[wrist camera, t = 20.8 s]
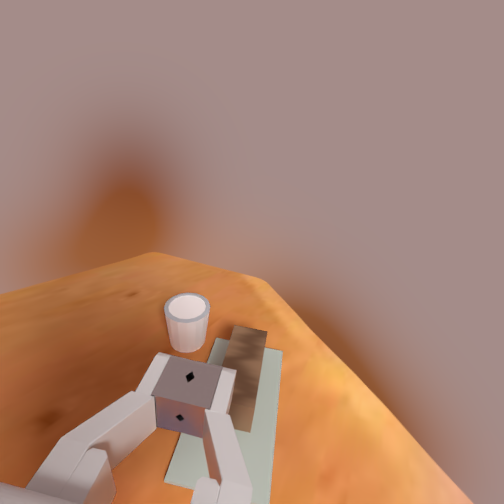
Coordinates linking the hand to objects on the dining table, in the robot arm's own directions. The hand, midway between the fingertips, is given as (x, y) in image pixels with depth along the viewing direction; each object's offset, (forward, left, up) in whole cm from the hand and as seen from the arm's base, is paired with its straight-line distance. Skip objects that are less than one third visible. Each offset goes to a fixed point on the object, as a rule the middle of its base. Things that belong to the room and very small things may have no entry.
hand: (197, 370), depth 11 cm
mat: (0, +16, -27) cm, 31 cm away
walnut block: (0, +13, -24) cm, 27 cm away
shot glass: (-10, +25, -27) cm, 38 cm away
